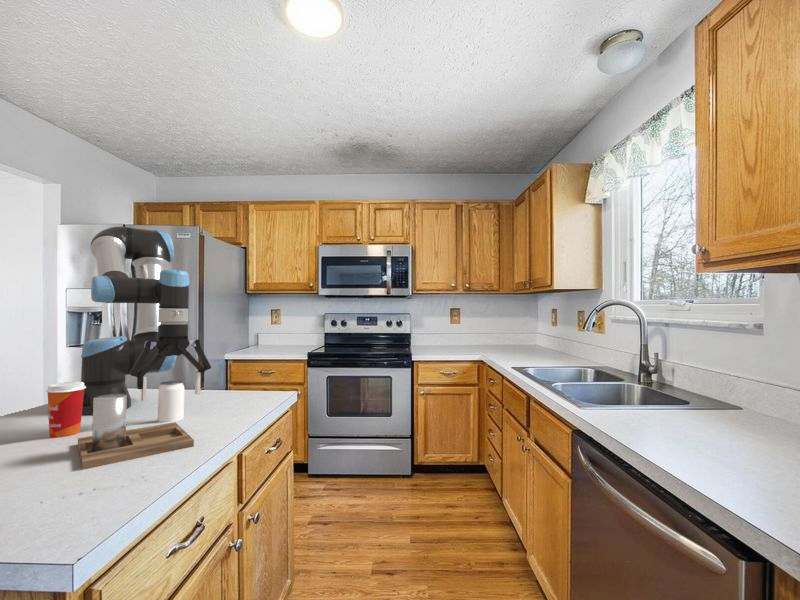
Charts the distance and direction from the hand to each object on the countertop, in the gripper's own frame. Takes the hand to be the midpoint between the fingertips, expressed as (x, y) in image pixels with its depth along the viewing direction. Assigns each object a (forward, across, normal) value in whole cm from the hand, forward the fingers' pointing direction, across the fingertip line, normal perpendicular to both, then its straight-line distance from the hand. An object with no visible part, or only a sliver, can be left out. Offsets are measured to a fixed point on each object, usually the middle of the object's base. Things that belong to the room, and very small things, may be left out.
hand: (171, 397), depth 111 cm
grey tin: (+7, -16, -18) cm, 25 cm away
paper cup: (+8, -23, +2) cm, 24 cm away
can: (+8, 0, 0) cm, 8 cm away
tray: (+8, -11, -18) cm, 23 cm away
